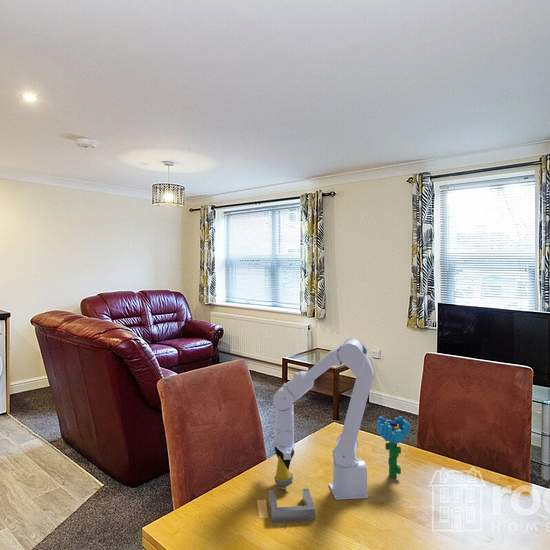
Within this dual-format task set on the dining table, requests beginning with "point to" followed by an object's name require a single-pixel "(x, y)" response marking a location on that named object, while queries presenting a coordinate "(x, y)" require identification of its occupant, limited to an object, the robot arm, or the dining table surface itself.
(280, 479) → the grooved yellow cone
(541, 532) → the dining table surface
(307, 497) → the bracket
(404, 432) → the toy flower
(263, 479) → the dining table surface
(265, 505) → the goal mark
